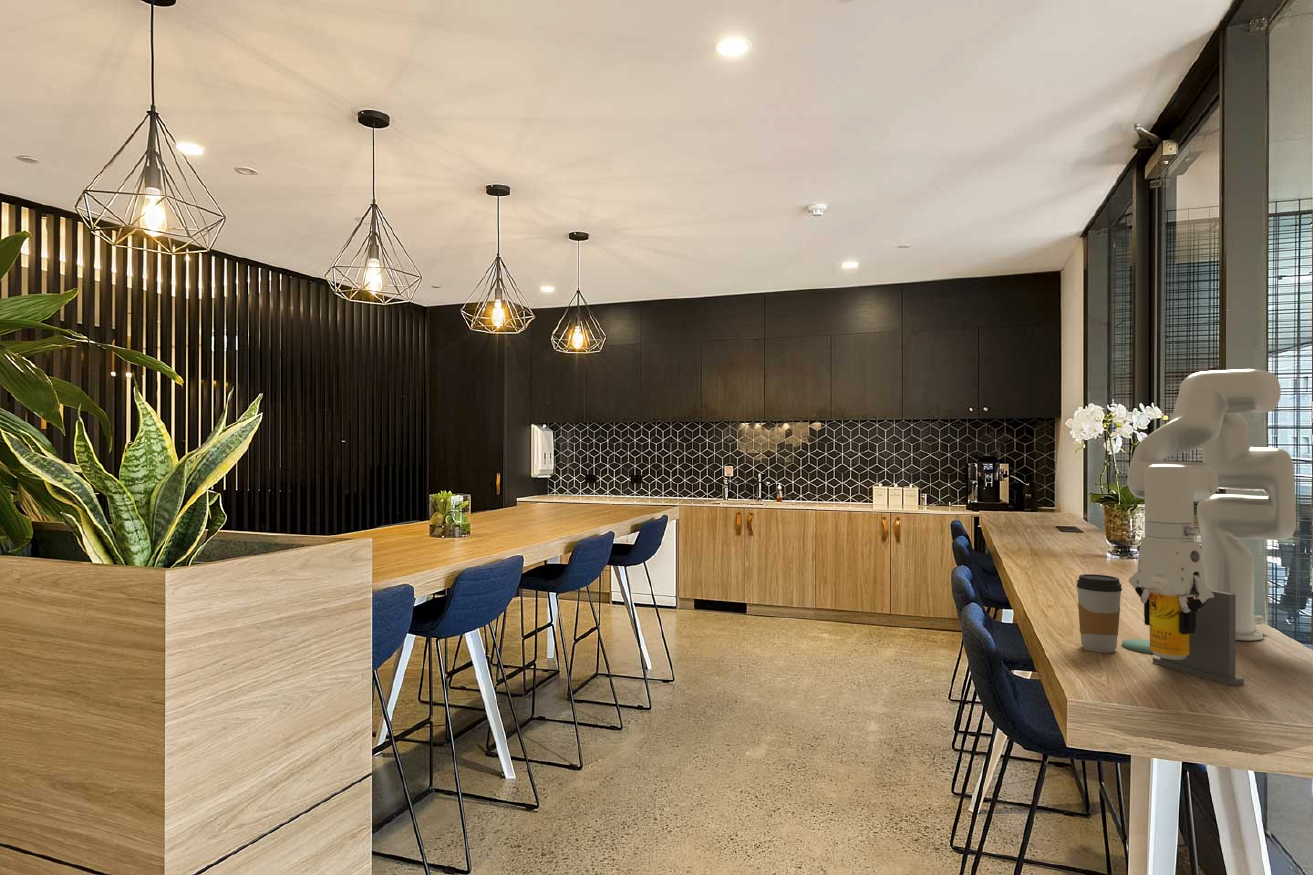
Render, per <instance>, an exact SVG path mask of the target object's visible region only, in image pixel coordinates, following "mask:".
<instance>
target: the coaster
mask: <svg viewBox="0 0 1313 875" xmlns="http://www.w3.org/2000/svg"><path fill="white" fill-rule="evenodd" d="M1121 646H1122V647H1123V648H1125V649H1126V650H1130V651H1134V652H1137V653H1142V654H1149V655H1154V654H1153V652H1152V651H1151V650H1150V639H1142V638H1141V639H1139V638H1133V639H1132V638H1131V639H1130V638H1129V639H1124V640H1122V641H1121Z"/></svg>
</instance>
